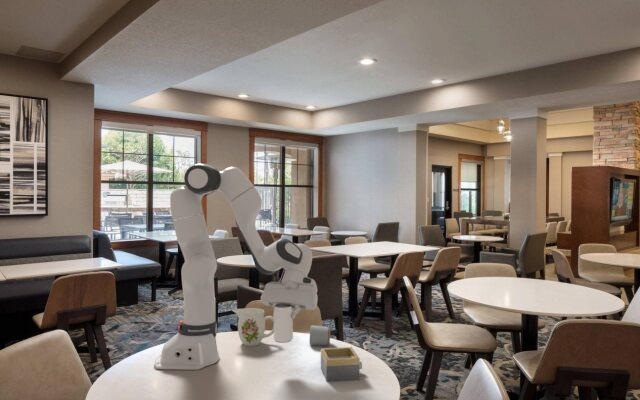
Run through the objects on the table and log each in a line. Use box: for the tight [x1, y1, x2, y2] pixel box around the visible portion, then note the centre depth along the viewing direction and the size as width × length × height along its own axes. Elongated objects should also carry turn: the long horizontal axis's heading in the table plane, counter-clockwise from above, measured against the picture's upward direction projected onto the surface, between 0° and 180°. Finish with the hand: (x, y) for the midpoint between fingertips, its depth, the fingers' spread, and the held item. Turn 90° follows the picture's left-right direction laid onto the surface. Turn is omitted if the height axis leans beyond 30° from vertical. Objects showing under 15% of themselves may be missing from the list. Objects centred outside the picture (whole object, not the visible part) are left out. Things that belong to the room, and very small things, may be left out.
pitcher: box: [231, 307, 274, 347], centre depth 180 cm, size 11×18×14 cm, turn 94°
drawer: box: [320, 346, 363, 383], centre depth 149 cm, size 13×11×7 cm
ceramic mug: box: [308, 325, 331, 347], centre depth 180 cm, size 11×8×8 cm
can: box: [273, 303, 294, 344], centre depth 152 cm, size 6×6×12 cm
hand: (283, 317), depth 151 cm, fingers closed on can, 5 cm apart
